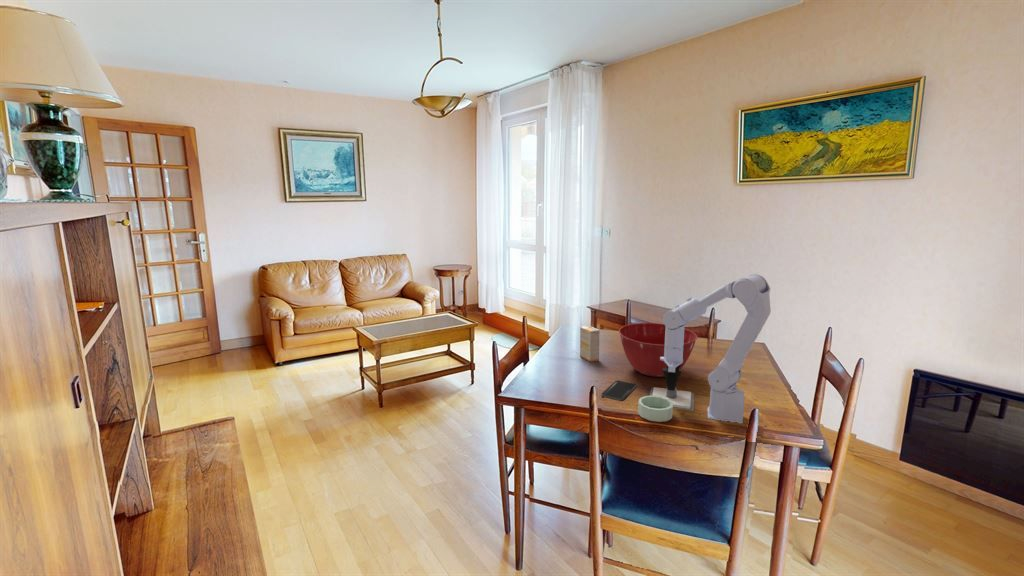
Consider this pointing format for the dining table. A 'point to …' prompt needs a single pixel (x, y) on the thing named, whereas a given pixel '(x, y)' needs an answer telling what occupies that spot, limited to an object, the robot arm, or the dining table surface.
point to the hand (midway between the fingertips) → (671, 385)
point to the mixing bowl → (651, 347)
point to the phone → (619, 390)
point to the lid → (674, 397)
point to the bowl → (655, 408)
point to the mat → (678, 407)
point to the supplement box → (589, 343)
